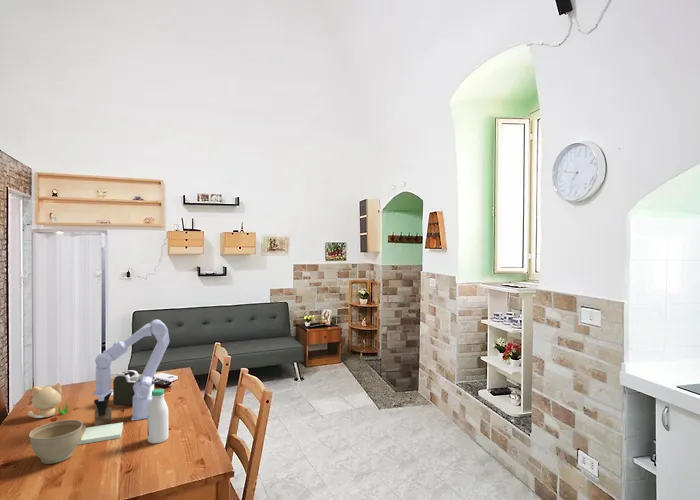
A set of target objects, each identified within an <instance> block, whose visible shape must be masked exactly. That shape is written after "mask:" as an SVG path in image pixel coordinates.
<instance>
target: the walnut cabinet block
mask: <svg viewBox="0 0 700 500" xmlns="http://www.w3.org/2000/svg"><path fill="white" fill-rule="evenodd" d="M112 411H113V410H112V406H109V407H108V406H107V408H106V412H105V415H103V416H99V414H98V409H97V408H96V409H95V411H94V426H101V425H108V424H112V421H113V420H112V416H113V415H112V413H113V412H112Z"/></svg>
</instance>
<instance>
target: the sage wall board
mask: <svg viewBox="0 0 700 500" xmlns="http://www.w3.org/2000/svg"><path fill="white" fill-rule="evenodd" d="M123 427H124V422H117V423H111V424H108V425H101V426H95V425H94V426H89V427H86V429H85V431H84V434H83V436H82V439H81V441H79V442H78V445H77V446H79V445H85V444H91V443H98V442H103V441H109V440H115V439H121V437H122V432H123Z"/></svg>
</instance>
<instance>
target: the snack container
mask: <svg viewBox="0 0 700 500" xmlns="http://www.w3.org/2000/svg"><path fill="white" fill-rule="evenodd" d="M169 425H170V424H169V407H168V405H167V402H166V399H165V389H164V388H157V389H156V388H154V390H153V391H152V402H151V404H150V406H149V409H148V418H147V442H148V443H149V444H160V443H163V442H165V441H167V440H168V438H169V433H170V432H169Z"/></svg>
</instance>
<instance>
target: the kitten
mask: <svg viewBox="0 0 700 500" xmlns="http://www.w3.org/2000/svg"><path fill="white" fill-rule="evenodd" d="M31 396H32V400H31V401H32V402H31V405H32V407H33V408H34V409H38V410H39V411H38V414H36V413H34V412H33V411H32V410H29V411H27V413H26V414H27V416H28V417H31V418H36V419H42V418H45V419H46V418H49V417H52V416H54V415H56V411H57V410H56V406H58V405H59V406H58V412H59V414H60V415H65V414H67V413H68V412H67V410H68V409H69V408H68V407H69V404H68V403H67V402H65V407H64V409H63V410H62V409H61V405H60V403H61V402H62V383H61V382H58V383H56V384H54V385H52V386H51V385H47V386H43V387H40V386H36V385H35V386H34V385H33V387H32V395H31Z"/></svg>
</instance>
